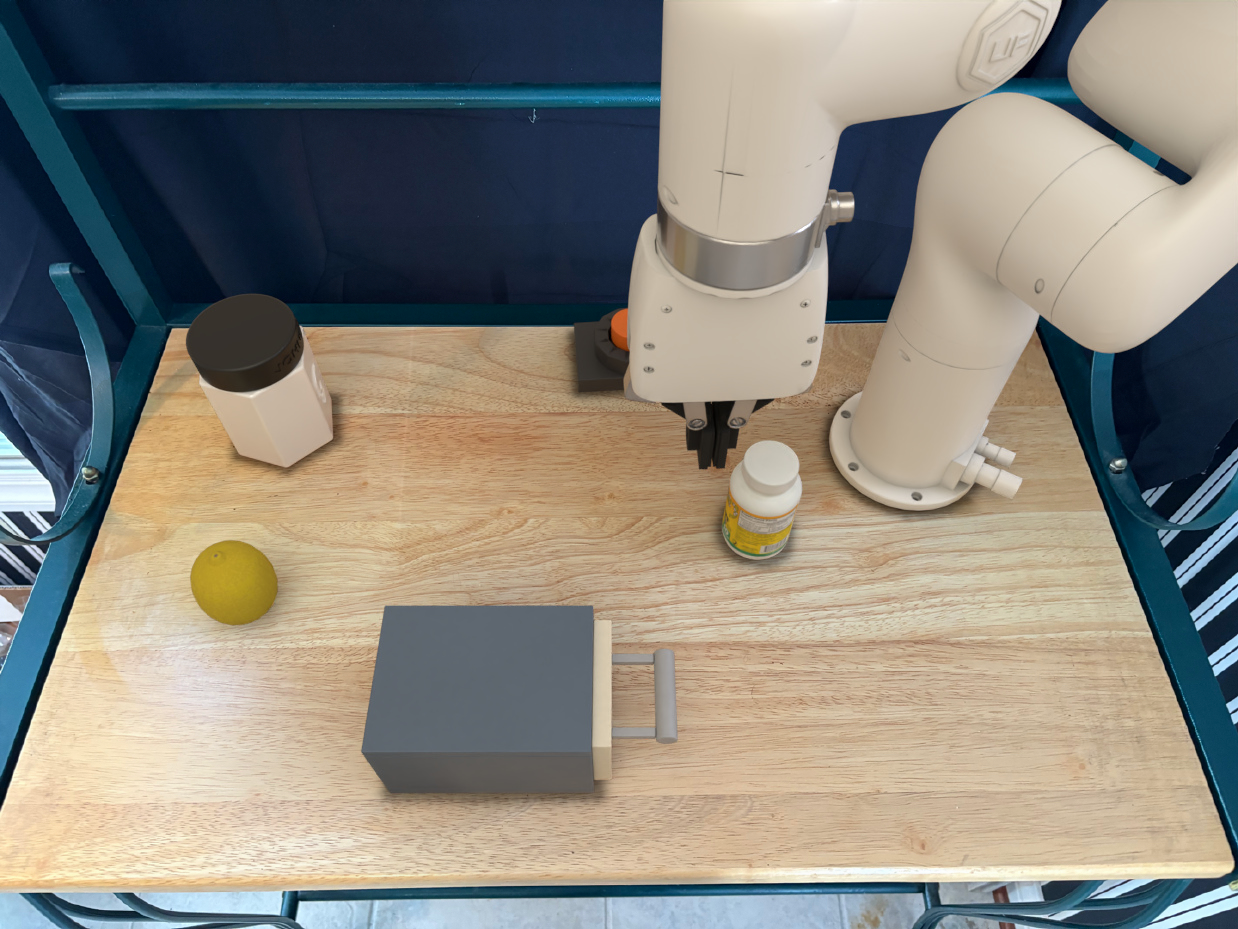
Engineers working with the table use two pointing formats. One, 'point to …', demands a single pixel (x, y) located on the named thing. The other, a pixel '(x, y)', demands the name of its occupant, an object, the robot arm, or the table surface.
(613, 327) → the button
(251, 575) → the lemon
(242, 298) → the jar
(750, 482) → the supplement bottle
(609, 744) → the drawer
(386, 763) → the cabinet
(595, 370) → the control block
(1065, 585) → the table surface
